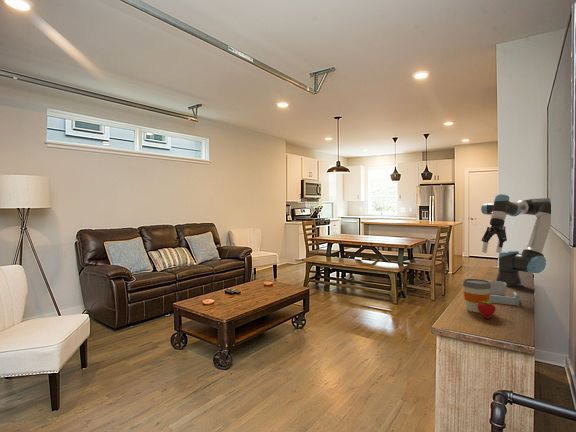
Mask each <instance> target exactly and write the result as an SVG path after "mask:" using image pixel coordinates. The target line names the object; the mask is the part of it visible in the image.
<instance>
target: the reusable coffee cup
mask: <svg viewBox="0 0 576 432" xmlns="http://www.w3.org/2000/svg"><path fill="white" fill-rule="evenodd" d="M489 281H490V280H485V279H478V278H465V279H463V282H462V287H463V297H464V300H465V305H466V310H467V311H469V312H472V311H473V313H479V310H478V307H477V306H478V304H479V303H483V302H480V301H485V302H487V301H489V297H490V293H489V291H490V288H491V286H490V282H489ZM487 298H488V299H487Z"/></svg>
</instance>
